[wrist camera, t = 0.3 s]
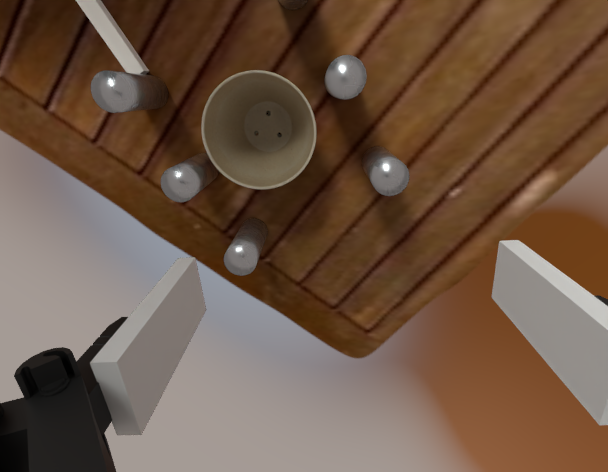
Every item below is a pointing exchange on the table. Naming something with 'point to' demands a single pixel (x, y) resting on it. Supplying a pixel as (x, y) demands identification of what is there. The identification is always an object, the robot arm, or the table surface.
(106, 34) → the frame
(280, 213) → the table surface
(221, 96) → the flower pot
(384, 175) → the spacers
